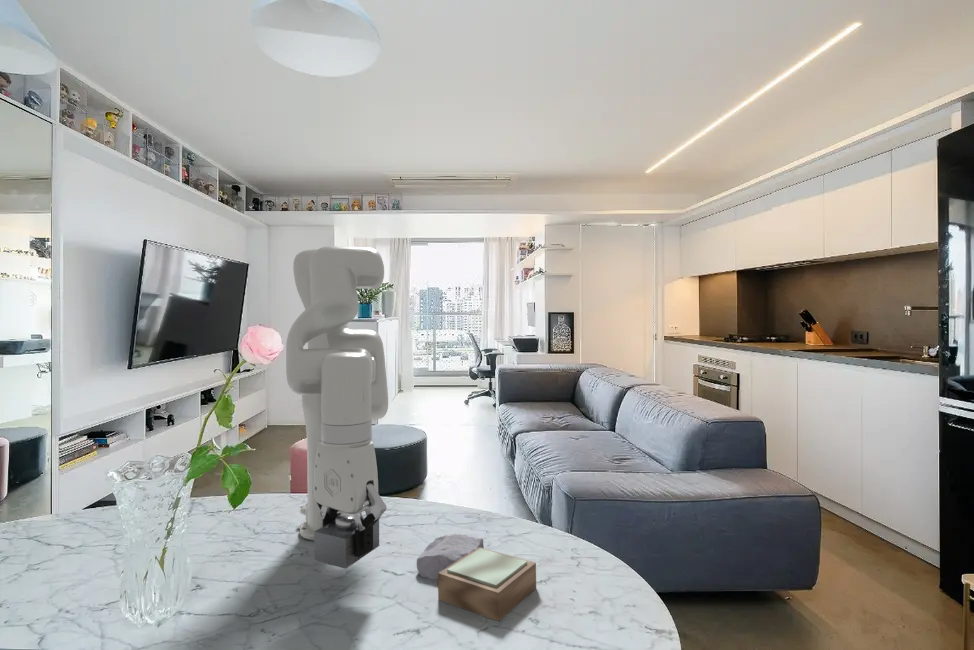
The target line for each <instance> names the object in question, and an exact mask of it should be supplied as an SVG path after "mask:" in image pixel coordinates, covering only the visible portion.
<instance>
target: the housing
mask: <svg viewBox="0 0 974 650" xmlns="http://www.w3.org/2000/svg"><path fill="white" fill-rule="evenodd" d="M362 517H363V520H364V519H365V517H366V515H363V514H362ZM357 529H358V528H357V525H356V521H355V518H354V515H353V514H348V513H344V514H340V515H338V516H337V517H336V518H335V521H333V522H331V523H329V524H327V525H325V526H323V527H322V528H320V529H318V530H316V531H314V541H313V555H314V556H313V559H314V560H313V561H314V562H319V563H323V564H327V565H329V566H333V567H338V568H341V569H344V570H346V569H348V568H349V567H351V566H352V565H353V564H355V563H357V562H358V561H360V560H361V559H362V558H364V557H365V556H367V555H368V554H370V553H371V552H373V551H374V550H376V549H377V548H379V547H380V519H379V520H378V521H377V522H376V525H374V526H373V549H372V551H370V552H368V553H366V554H364V555H362V556H360V557H357V556H355V533H354V532H355V530H357Z"/></svg>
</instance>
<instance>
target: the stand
mask: <svg viewBox="0 0 974 650" xmlns="http://www.w3.org/2000/svg"><path fill="white" fill-rule="evenodd" d="M536 589H537V563H536V561H535V562H534V561H532V560H528V559H524V558H520V557H516V556H512V555H510V554H509V555H508V554H505V553H501V552H499V551H494V550H491V549H487V548H480V547H479V548H477V549H476V550H474V551H472V552H471V553H469V554H468V555H466V556H464V557H463V558H461V559H460V560H458V561H456V562H455V563H453V564H452V565H450V566H448V567H447V568H445V569H444V570H442V571H440V572H439V573H438V579H437V596H438V600H439V601H442V602H445V603H448V604H449V605H450V604H451V605H453V606H455V607H459V608H461V609H464V610H466V611H469V612H472V613H475V614H477V615H480V616H483V617H486V618H489V619H491V620H494V621H496V620H497V621H496V622H501V620H502V619H503V618H504V617H506V616H507V615H508V614H510V612H511V611H512V610H514V608H516V607H517V606H518V605H519V604H520V603H521V602H523V600H525V599H526V598H527V597H528V596H530V594H531V593H533V592H534V591H535V590H536Z"/></svg>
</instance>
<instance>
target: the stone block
mask: <svg viewBox="0 0 974 650" xmlns="http://www.w3.org/2000/svg"><path fill="white" fill-rule="evenodd" d="M479 547H480V548H484V538H483V537H476V536H472V535H467V534H462V533H452V534H449V535H443V536H439V537H436V538H435V539H434V540H433V541H432V542H430V543H429V544H427V546H426V547H425V548H424V550H423V552H421V554H420V555H419V556H418V557H417V559H416V568H417V571H418V573H419V576H421V577H425V578H427V577H428V579H433V580H438V573H439V572H440V571H442V570H444V569H445V568H447V567H448V566H450V565H452V564H453V563H455V562H456V561H458V560H460V559H461V558H463V557H464V556H466V555H468V554H469V553H471V552H472V551H474V550H476V549H477V548H479ZM484 549H485V548H484Z"/></svg>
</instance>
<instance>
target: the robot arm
mask: <svg viewBox="0 0 974 650" xmlns="http://www.w3.org/2000/svg"><path fill="white" fill-rule="evenodd" d="M292 266H293V267H292V268H293V277H294V278H293V279H294V284H295V286H296V290H297V293H298V295H299V298H300V300H301V303H302V305H303V308H304V310H303V311H302V312H301V313H300V314H299V316H298V317H297V318H296V319H295V320H294V321H293V324H291V327H290V329H289V330H288V334H287V337H286V343H285V369H286V370H285V371H286V373H285V374H286V381H287V385H288V387H289V388H290V391H292V392H294V393H295V394H297V395H301V405H302V411H303V416H304V423H305V433H306V454H307V455H306V458H307V460H306V462H307V463H306V465H307V475H306V476H307V478H306V480H307V481H306V482H307V502H306V504H305V506H304V507H300V510H299V513H300V514H302V515H304V516H305V522H303V523H302V524H301V526H300V527H299V535H300V536H301V537H302V538H304V539H305V540H308V541H309V540H310V541H313V542H314V531H316V530H318V529H320V528H322V527H323V526H325V525H327V524H329V523H331V522H333V521H335V518H336V517H337V516H338V515H340V514H344V513H348V514H353V515H354V518H355V521H356V525H357V528H358V529H357V530H355V532H354V533H355V556H357V557H360V556H362V555H364V554H366V553H368V552H370V551H371V552H373V551H372V549H373V526H374V525H376V522H377V521H378V520H379V521H380V518H381V517H382V515H383V514H384V513H385V512H386V511H387V505H386V503H385V502H384V500H383V499H382V497H381V496H380V494H379V479H378V478H379V477H378V473H379V472H378V466H377V457H376V451H375V450H376V449H375V445H374V442H373V441H372V440H373V437H372V435H373V433H372V432H373V431H372V430H373V428H372V426H373V425H372V424H373V422H372V421H377V420H381V419H383V418H384V417H385V416H386V414H387V412H388V408H389V390H388V389H389V388H388V382H387V381H388V380H387V367H386V358H385V349H384V343H383V339H382V337H381V336H380V334H379V333H378V332H377V331H374V330H373V329H350V328H349V327H348V323H351V321H352V320H354V319H355V318H356V317H357V315H358V312H359V311H360V310H359V309H360V305H359V298H358V293H357V292H358V291H357V290H359V289H361V290H365V289H366V290H377V289H379V288H380V287H381V286H382V284H383V281H384V278H385V265H384V261H383V258H382V256H381V254H380V252H379V251H378V250H377V249H375V248H373V247H364V246H363V247H362V246H361V247H360V246H343V245H342V246H341V245H340V246H338V245H329V246H327V245H326V246H322V247H319V248H316V249H315V248H314V249H313V248H312V249H307V250H302V251H300V252H298V253H297V254H296V255H295V257H294V260H293V265H292ZM306 344H307V348H304V346H305V345H306ZM362 512H365V516H366V517H365V519H364V520H363V517H362V515H363V514H362ZM371 552H370V553H371ZM368 554H369V553H368Z"/></svg>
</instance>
